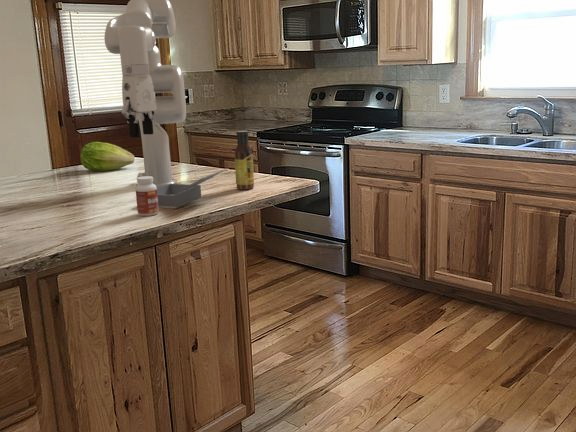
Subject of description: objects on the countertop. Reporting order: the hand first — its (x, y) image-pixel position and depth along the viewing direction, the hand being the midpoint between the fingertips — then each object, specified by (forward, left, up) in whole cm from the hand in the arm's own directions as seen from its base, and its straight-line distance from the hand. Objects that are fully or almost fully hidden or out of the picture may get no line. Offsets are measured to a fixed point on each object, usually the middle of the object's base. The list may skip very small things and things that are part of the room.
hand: (142, 135), depth 178 cm
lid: (+9, +16, -16) cm, 24 cm away
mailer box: (-2, +16, -24) cm, 29 cm away
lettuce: (-62, +62, -24) cm, 91 cm away
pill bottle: (-1, 0, -24) cm, 24 cm away
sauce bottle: (+13, +39, -24) cm, 47 cm away
